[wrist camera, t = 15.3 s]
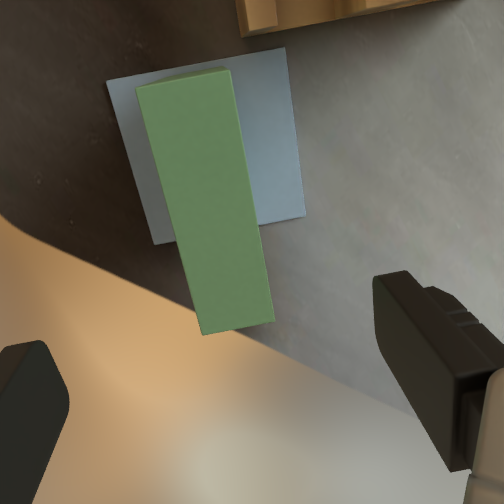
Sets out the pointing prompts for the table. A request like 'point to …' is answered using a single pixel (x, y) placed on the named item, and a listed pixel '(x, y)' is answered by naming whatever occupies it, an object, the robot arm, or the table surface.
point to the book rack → (306, 12)
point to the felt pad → (252, 128)
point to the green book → (208, 195)
